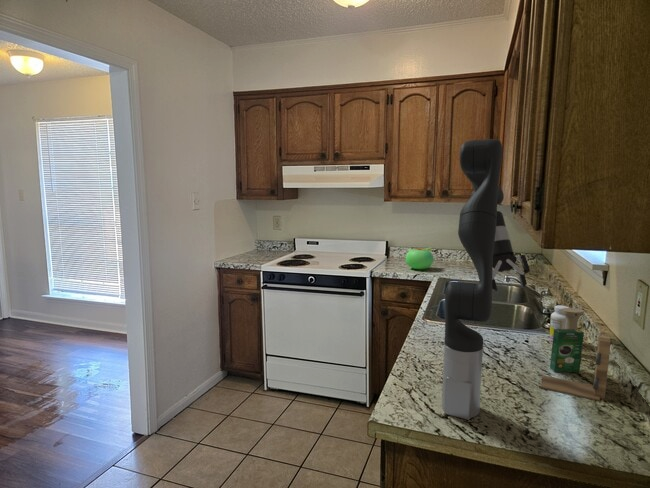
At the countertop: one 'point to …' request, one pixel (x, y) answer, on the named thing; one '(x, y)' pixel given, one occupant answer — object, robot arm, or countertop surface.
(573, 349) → the coffee box
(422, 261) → the green round pot
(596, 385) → the wooden l-shaped bracket
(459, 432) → the countertop surface
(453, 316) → the robot arm
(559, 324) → the supplement bottle
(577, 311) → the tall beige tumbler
